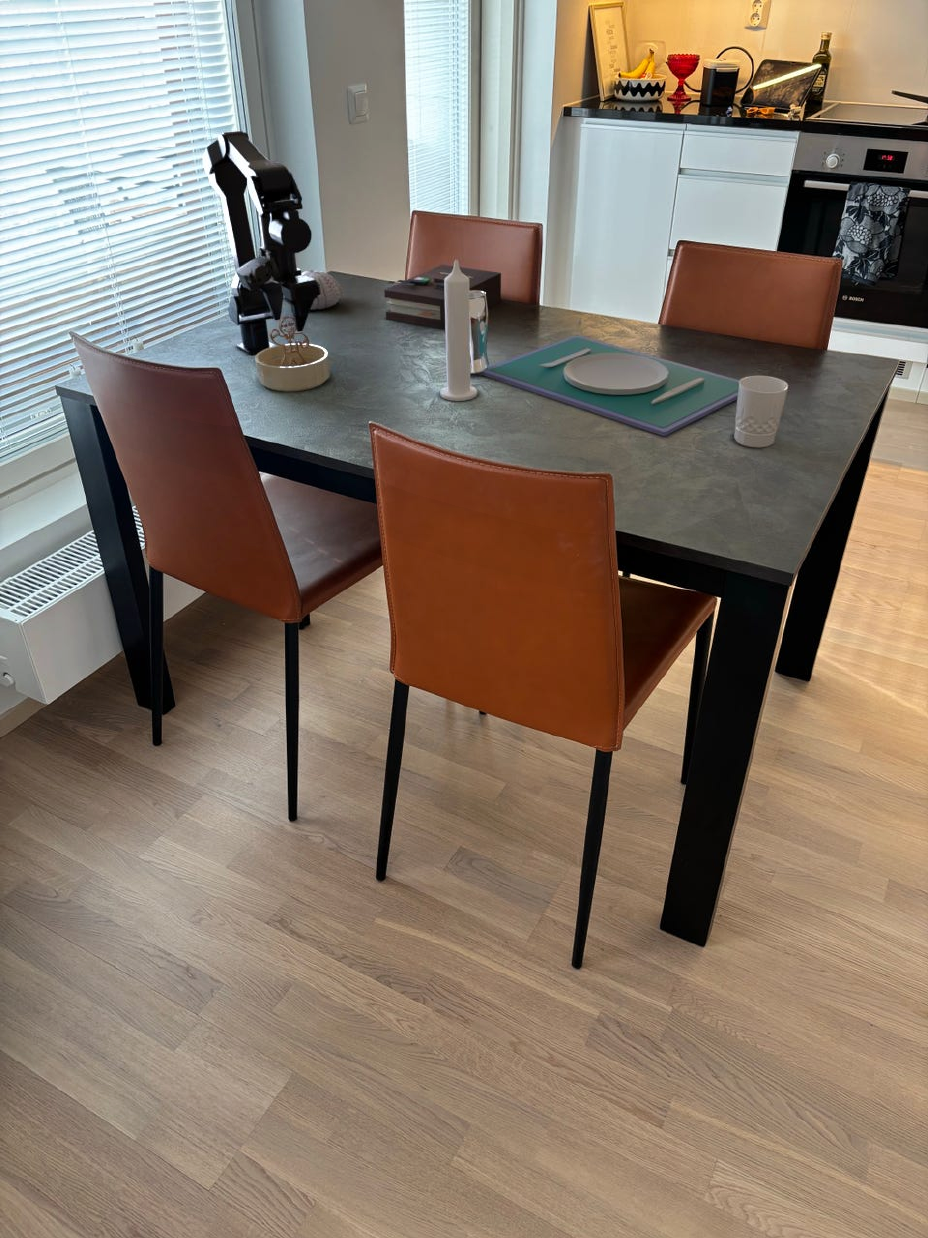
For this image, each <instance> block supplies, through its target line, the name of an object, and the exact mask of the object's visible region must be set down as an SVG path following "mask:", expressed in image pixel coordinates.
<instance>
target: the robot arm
mask: <svg viewBox="0 0 928 1238" xmlns="http://www.w3.org/2000/svg"><path fill="white" fill-rule="evenodd" d="M202 164H203V165H202V166H203V169H204V172H205V174H206V175H207V177H208V180H209V181H208V182H209V184H210V186H212V188H213V189H214V190H215V192H216V193H217V194H218V195H219V196H220V199H221V204H222V209H223V215H224V219H225V224H226V229H227V234H228V241H229V245H230V249H231V255H232V260H233V265H234V271H235V274H234V277H233V279H232V283H231V285H230V289H231V290H230V291H231V296H230V300H229V304H228V309H227V311H228V315H229V320H230V321H231V322H233V324H235V325H236V326H239V330H240V336H241V343H237V344H236V348H238V349H240V350H241V351H243V352H245V353H247V354H248V355H252V354H256V353H257V354H258V353H259V352H261V351H262V350H265V349H267V348H270V347H274V346H277V344H275V343H273V342H270V336H269V331H268V323H267V321H268V320H274V321H280V320H281V319H282V318H281V317H282V311H283V304H284V301H285V302H286V303H287V304H288V305H289V306H290V309H291V314H292V317H293V318H294V321H293V323H294V322H295V326H296V332H303V331H304V328H305V326H306V322H307V320H308V317H309V314H310V311H311V307H312V304H313V302H314V300H315V299H316V298H317V296H318V295H320V294H321V291H320V284H319V283H318V282H317V281H316V280H315V279H312V278H310V277H307V276H303V277H298V278H297V276H300V275H302V269H300V268H298V267H297V260H296V254H299V253H300V252H303V251H305V250H306V249H307V248H308V247H309V246H310V244H311V242H312V238H313V237H312V235H313V233H312V230H311V227H310V225H309V223H308V222H306V220H304V219H302V218H300V213H299V210H303V208H304V207H303V203H302V201H303V196H302V194H301V192H300V190H299V187H298V185H297V182H296V180H295V179H294V177H293V174H292V172H291V171H289V169H288V167H286V165H284V164H283V163H281V162H278V161H273V160H269V159H268V158H266V156H265V155H264V154H263V153H262V152H261V151H260V150H259V149H258V148H257V146H255V144H254V143H253V142H252V141H251V140H250V137H249V135H248V133H247V132H246V131H243V130H236V131H224V132H222V133H221V134H219V136H218V138H217V139H216V140H215V141H213V142H211V144H209V145H208V146H206V147H205V150H204V153H203V154H202ZM246 190H248V193H249V195H250V197H251V199H252V201H253V203H254V205H255V208H256V211H257V212H258V219H259V226H260V235H261V241H262V246H259V247H258V249H257V253H258V256H256V252H255V245H254V240H253V235H252V229H251V224H250V220H249V219H250V218H249V213H248V209H247V203H246V198H245V192H246Z"/></svg>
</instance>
